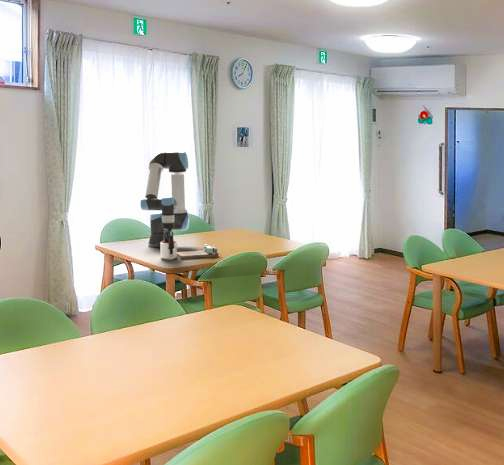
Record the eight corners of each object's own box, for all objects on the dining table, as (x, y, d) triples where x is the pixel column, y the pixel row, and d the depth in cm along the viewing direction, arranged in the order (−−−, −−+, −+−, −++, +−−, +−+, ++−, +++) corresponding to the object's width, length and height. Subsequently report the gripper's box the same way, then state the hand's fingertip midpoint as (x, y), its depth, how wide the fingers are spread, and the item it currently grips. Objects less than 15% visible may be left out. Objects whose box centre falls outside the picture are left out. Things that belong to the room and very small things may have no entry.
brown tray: (175, 255, 393) (174, 247, 393) (211, 252, 402) (211, 244, 401) (181, 259, 380) (181, 251, 379) (218, 256, 389) (218, 248, 388)
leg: (203, 249, 399) (203, 244, 398) (208, 249, 400) (208, 244, 399) (208, 253, 387) (207, 247, 387) (212, 252, 388) (212, 247, 388)
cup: (173, 260, 378) (173, 243, 377) (158, 259, 380) (158, 243, 379) (179, 256, 388) (178, 241, 387) (163, 256, 390) (163, 240, 388)
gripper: (157, 219, 390) (158, 254, 393) (166, 224, 369) (167, 261, 372) (169, 219, 392) (170, 253, 396) (179, 224, 372) (179, 260, 375)
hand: (168, 257), depth 384 cm, fingers closed on cup, 10 cm apart
